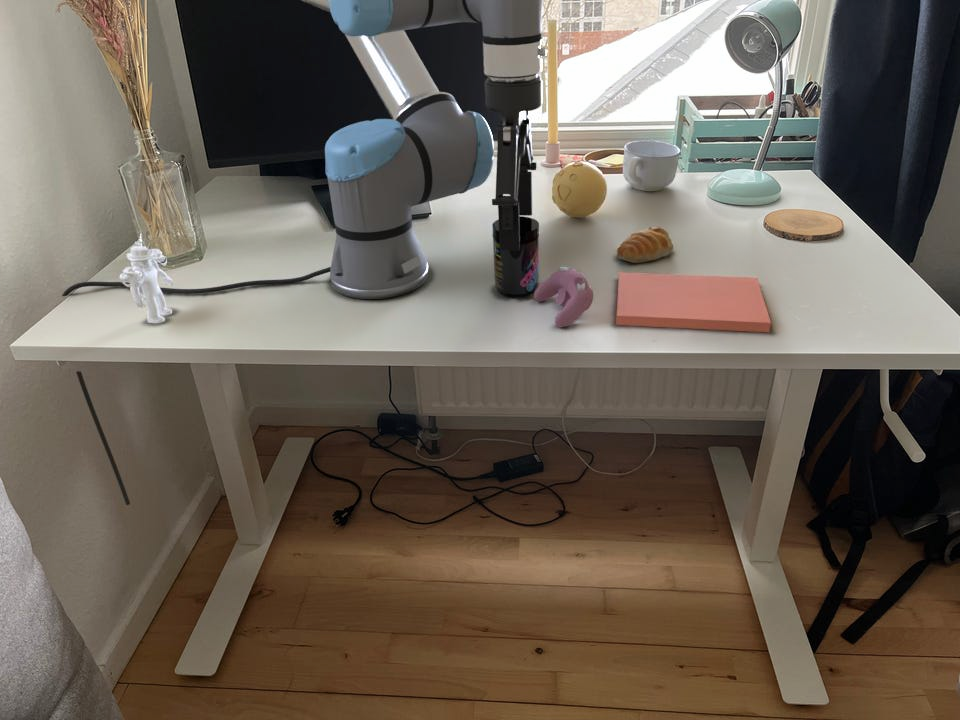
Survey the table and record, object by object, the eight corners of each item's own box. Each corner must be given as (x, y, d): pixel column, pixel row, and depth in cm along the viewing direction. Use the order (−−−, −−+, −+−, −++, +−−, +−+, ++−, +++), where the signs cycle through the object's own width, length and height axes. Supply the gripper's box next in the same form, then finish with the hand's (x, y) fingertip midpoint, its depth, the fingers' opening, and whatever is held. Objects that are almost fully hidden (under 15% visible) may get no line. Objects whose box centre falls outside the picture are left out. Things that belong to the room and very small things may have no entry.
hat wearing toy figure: (163, 302, 115) (141, 228, 109) (186, 303, 114) (166, 228, 108) (130, 331, 108) (105, 253, 101) (155, 332, 107) (131, 254, 101)
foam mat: (615, 325, 103) (616, 315, 103) (618, 281, 115) (619, 272, 114) (769, 332, 100) (771, 322, 99) (756, 286, 112) (757, 277, 111)
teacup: (643, 174, 158) (646, 136, 154) (687, 185, 151) (691, 145, 147) (600, 191, 150) (602, 151, 146) (645, 203, 143) (648, 162, 139)
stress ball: (600, 205, 144) (603, 152, 139) (609, 224, 135) (612, 169, 130) (548, 207, 144) (548, 155, 139) (554, 226, 135) (555, 171, 130)
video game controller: (581, 335, 104) (604, 291, 102) (554, 327, 102) (577, 282, 100) (555, 305, 112) (576, 263, 110) (529, 297, 110) (550, 254, 108)
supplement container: (515, 304, 110) (514, 237, 104) (485, 290, 114) (482, 224, 109) (548, 289, 114) (549, 224, 108) (517, 276, 118) (516, 212, 113)
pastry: (637, 269, 118) (639, 247, 116) (605, 257, 123) (606, 235, 121) (676, 253, 123) (678, 231, 121) (644, 242, 128) (645, 220, 126)
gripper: (530, 97, 87) (532, 267, 98) (551, 58, 108) (551, 202, 119) (466, 97, 88) (475, 265, 99) (499, 59, 109) (504, 201, 120)
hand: (516, 231), depth 109 cm, fingers open, 13 cm apart
